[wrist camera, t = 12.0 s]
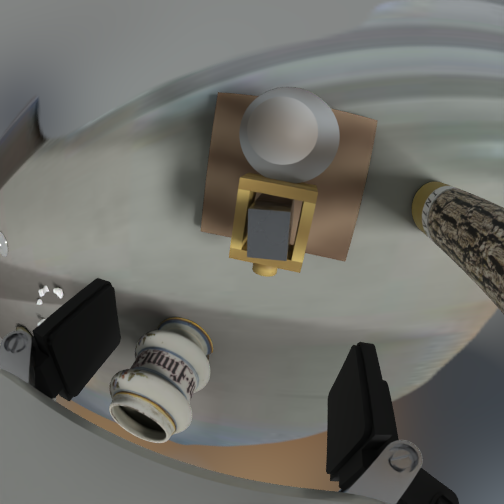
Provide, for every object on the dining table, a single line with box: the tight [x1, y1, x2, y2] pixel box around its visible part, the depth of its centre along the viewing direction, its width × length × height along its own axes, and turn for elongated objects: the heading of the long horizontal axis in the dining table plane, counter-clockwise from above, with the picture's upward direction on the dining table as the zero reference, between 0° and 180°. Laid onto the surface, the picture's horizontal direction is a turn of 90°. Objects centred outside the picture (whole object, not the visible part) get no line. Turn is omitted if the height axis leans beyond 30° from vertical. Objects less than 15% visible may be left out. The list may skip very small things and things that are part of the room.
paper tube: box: [412, 182, 504, 314], centre depth 19 cm, size 7×7×25 cm
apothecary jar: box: [109, 317, 213, 443], centre depth 36 cm, size 12×12×18 cm
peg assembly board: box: [201, 87, 377, 276], centre depth 25 cm, size 18×18×16 cm
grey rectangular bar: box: [247, 193, 295, 261], centre depth 27 cm, size 4×3×11 cm
